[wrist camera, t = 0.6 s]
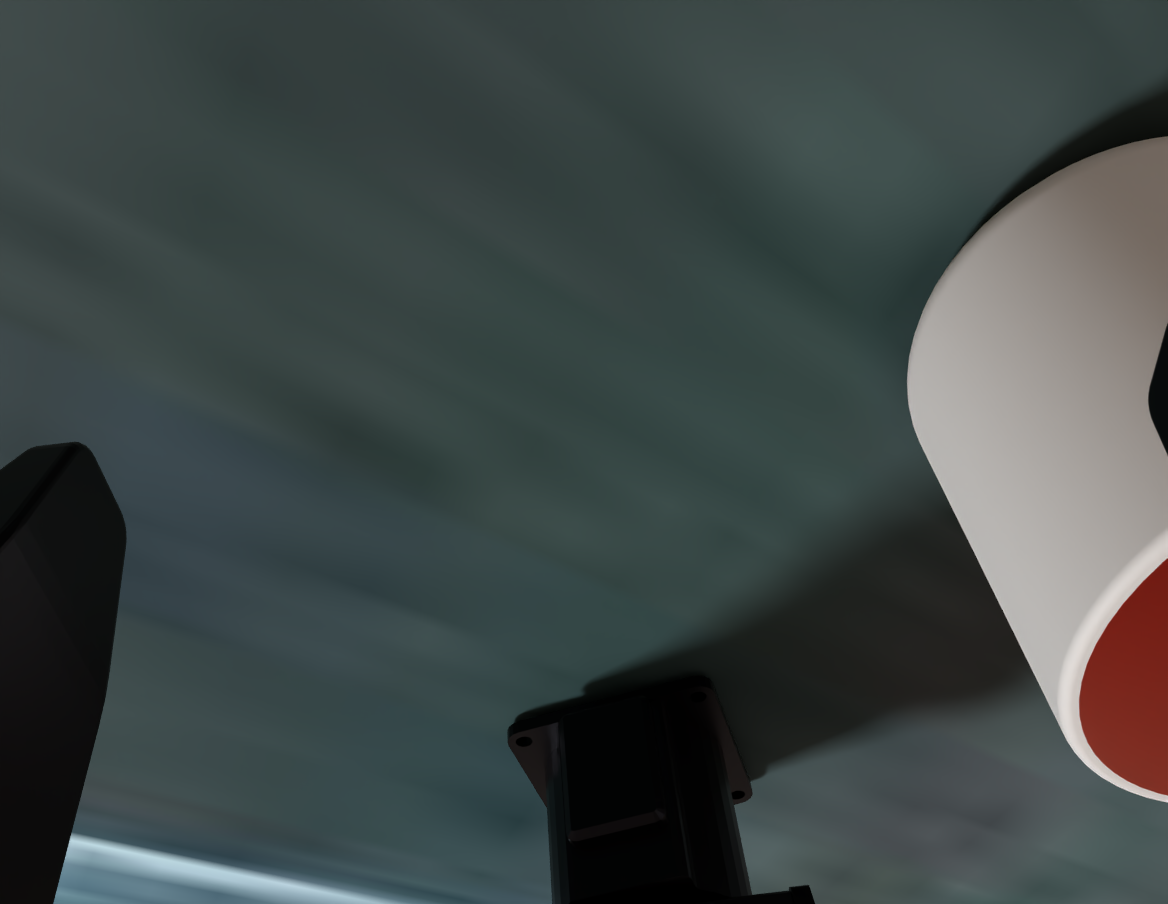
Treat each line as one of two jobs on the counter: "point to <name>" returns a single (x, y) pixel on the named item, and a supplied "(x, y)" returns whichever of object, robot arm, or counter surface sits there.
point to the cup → (1065, 442)
